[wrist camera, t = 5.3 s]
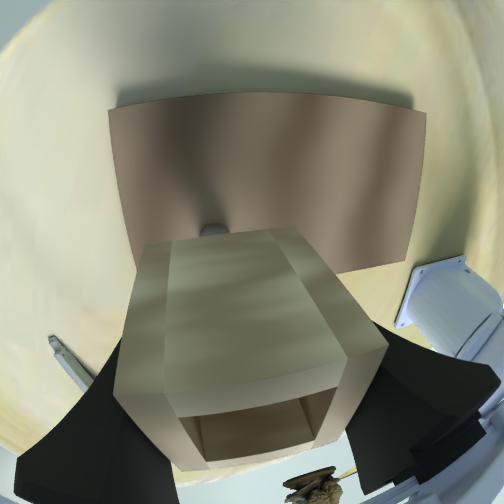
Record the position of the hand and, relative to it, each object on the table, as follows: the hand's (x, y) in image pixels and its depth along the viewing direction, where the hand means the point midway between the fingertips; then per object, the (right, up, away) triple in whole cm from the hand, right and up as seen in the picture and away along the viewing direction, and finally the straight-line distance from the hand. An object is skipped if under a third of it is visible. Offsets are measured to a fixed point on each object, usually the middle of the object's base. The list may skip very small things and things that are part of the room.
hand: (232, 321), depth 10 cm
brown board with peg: (+3, +6, +7) cm, 10 cm away
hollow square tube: (0, +1, +1) cm, 1 cm away
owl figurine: (+17, -65, +50) cm, 84 cm away
